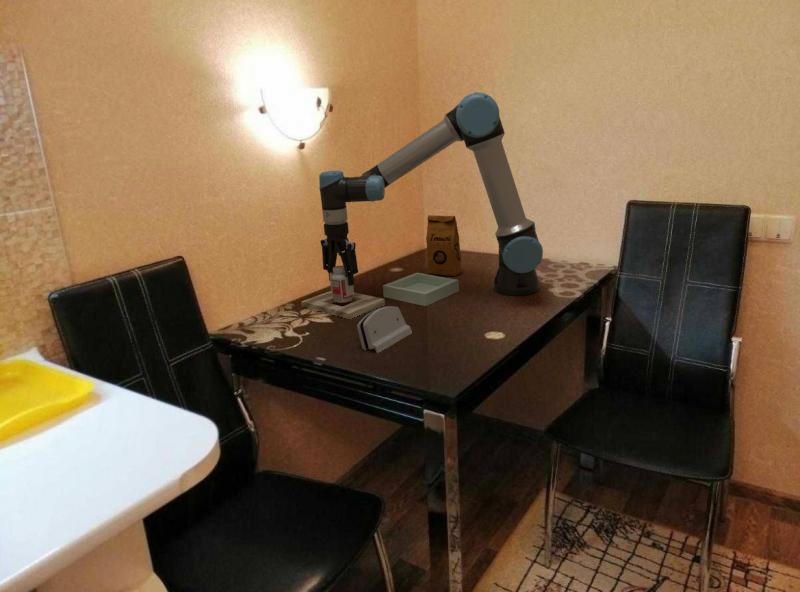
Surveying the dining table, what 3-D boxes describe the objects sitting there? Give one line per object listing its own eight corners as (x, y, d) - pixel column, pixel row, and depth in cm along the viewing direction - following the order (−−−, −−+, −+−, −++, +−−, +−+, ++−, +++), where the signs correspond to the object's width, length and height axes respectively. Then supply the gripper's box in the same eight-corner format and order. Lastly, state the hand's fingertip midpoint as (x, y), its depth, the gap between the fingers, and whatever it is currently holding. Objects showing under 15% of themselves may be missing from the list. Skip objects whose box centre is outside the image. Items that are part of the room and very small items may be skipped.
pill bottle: (353, 296, 193) (350, 264, 190) (351, 302, 187) (348, 269, 184) (335, 297, 193) (331, 265, 190) (332, 303, 187) (329, 270, 184)
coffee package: (455, 278, 213) (453, 218, 207) (424, 276, 219) (421, 217, 212) (465, 271, 222) (464, 213, 215) (435, 269, 227) (432, 212, 221)
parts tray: (458, 291, 199) (458, 279, 198) (425, 306, 186) (425, 294, 185) (417, 283, 210) (416, 272, 209) (383, 297, 198) (382, 285, 196)
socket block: (384, 305, 189) (384, 299, 189) (349, 319, 178) (348, 313, 178) (337, 294, 203) (337, 288, 203) (301, 307, 192) (301, 301, 191)
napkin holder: (377, 353, 153) (364, 317, 152) (364, 356, 156) (351, 320, 155) (413, 332, 166) (401, 298, 165) (400, 334, 169) (388, 302, 168)
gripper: (306, 222, 186) (314, 291, 193) (348, 226, 174) (355, 301, 181) (323, 217, 191) (330, 285, 198) (366, 222, 179) (372, 294, 186)
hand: (342, 293), depth 189 cm, fingers closed on pill bottle, 6 cm apart
